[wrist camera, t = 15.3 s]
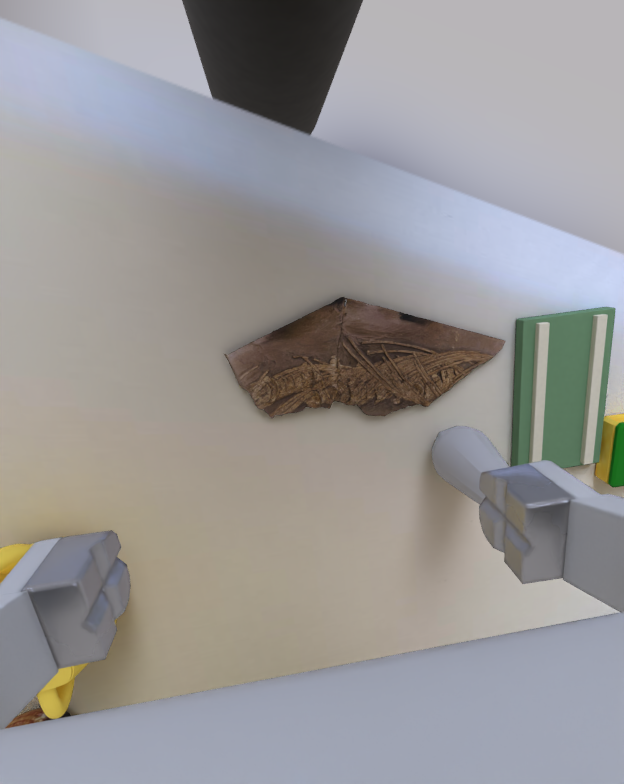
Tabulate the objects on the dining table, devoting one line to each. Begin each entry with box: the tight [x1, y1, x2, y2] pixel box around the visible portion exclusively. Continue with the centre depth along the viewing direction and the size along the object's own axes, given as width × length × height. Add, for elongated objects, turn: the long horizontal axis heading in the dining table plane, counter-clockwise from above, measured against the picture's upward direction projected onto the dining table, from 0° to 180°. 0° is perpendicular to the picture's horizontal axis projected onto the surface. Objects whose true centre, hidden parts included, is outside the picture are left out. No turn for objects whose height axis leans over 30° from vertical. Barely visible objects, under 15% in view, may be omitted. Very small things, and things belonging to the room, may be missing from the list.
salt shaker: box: [432, 426, 509, 504], centre depth 36 cm, size 6×6×13 cm
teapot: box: [0, 543, 117, 719], centre depth 37 cm, size 18×11×11 cm, turn 11°
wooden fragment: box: [224, 297, 506, 418], centre depth 38 cm, size 26×11×1 cm, turn 89°
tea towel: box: [511, 307, 615, 468], centre depth 41 cm, size 16×9×2 cm, turn 7°
